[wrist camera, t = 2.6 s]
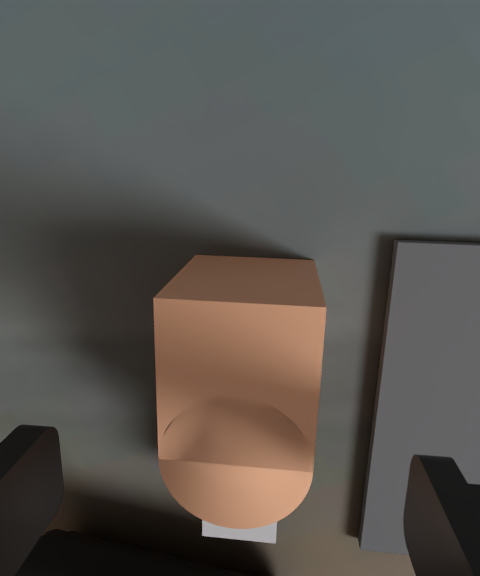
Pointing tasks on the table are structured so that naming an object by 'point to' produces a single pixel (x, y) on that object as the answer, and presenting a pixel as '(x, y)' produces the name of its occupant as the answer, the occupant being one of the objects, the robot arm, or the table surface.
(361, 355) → the table surface
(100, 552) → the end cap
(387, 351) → the mat
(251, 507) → the plug
